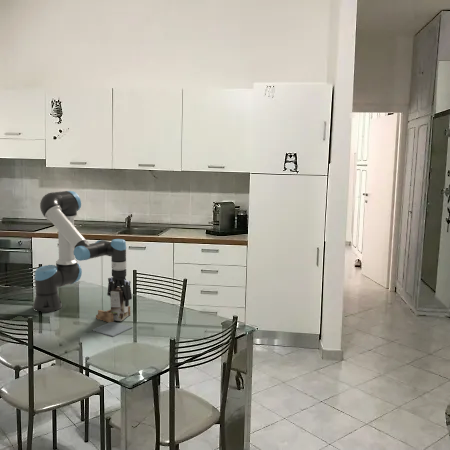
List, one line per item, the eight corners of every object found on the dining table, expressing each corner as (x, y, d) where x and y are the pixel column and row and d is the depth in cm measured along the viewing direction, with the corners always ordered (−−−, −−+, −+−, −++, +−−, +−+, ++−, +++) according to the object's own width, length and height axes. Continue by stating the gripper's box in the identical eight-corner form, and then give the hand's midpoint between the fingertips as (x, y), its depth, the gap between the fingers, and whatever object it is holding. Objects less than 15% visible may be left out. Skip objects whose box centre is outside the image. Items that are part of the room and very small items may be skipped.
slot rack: (96, 318, 270) (95, 309, 269) (114, 311, 282) (114, 302, 281) (112, 323, 264) (112, 314, 263) (130, 315, 276) (130, 306, 275)
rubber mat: (92, 330, 254) (92, 329, 254) (112, 322, 265) (112, 321, 265) (113, 336, 247) (113, 335, 246) (132, 327, 258) (132, 326, 258)
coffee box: (121, 321, 265) (121, 291, 263) (110, 320, 267) (109, 290, 264) (128, 315, 274) (128, 286, 271) (117, 314, 276) (117, 285, 273)
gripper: (99, 267, 268) (100, 308, 272) (129, 273, 257) (129, 316, 261) (109, 264, 274) (110, 304, 278) (138, 270, 264) (139, 312, 268)
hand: (119, 310), depth 270 cm, fingers closed on coffee box, 8 cm apart
